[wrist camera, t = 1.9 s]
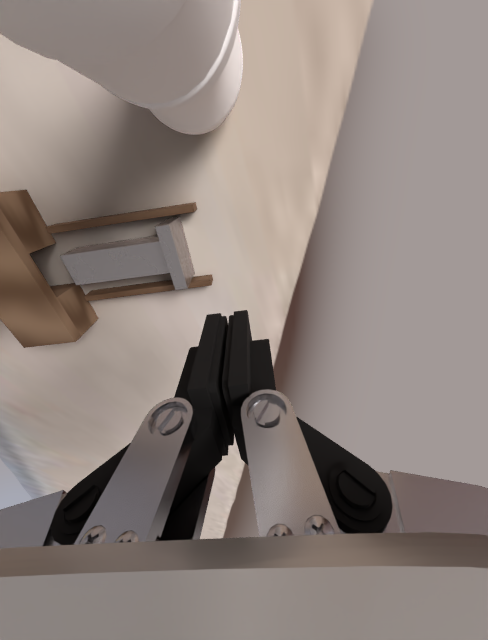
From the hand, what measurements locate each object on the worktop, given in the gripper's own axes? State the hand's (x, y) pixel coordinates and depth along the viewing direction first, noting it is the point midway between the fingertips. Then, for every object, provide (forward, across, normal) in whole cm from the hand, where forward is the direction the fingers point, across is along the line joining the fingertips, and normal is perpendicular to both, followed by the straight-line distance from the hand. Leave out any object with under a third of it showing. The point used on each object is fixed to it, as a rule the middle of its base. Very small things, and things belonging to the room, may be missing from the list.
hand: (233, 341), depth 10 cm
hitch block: (+16, +14, 0) cm, 22 cm away
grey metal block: (+16, +12, 0) cm, 20 cm away
